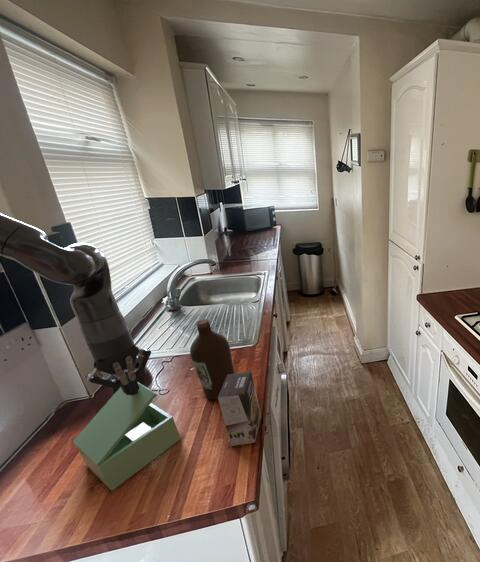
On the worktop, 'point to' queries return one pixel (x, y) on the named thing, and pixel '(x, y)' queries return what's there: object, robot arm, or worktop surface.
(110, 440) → the chest lid
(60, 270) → the robot arm
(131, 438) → the block
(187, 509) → the worktop surface
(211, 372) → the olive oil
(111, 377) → the dark rounded dome
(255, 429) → the coffee box
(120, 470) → the chest
